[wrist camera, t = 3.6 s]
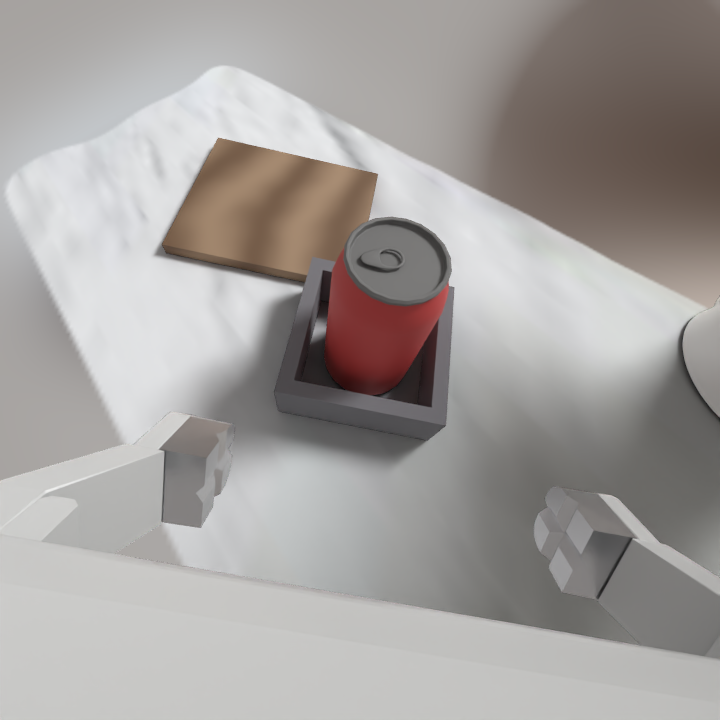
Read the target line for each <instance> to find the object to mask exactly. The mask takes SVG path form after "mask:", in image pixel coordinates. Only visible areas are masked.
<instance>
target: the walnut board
mask: <svg viewBox="0 0 720 720" xmlns="http://www.w3.org/2000/svg"><path fill="white" fill-rule="evenodd" d="M377 176H378V174H376V173H372V172H367V171H363V170H358V169H354V168H350V167H345V166H341V165H336V164H332V163H327V162H323V161H319V160H314V159H310V158H305V157H301V156H297V155H292V154H288V153H283V152H279V151H275V150H270V149H266V148H261V147H257V146H253V145H248V144H244V143H239V142H235V141H230V140H226V139H222V138H218V139H217V141H216V143H215V145H214V147H213V149H212V151H211V152H210V154H209V156H208V158H207V160H206V162H205V164H204V166H203V168H202V169H201V171H200V173H199V175H198V177H197V179H196V181H195V183H194V185H193V186H192V188H191V190H190V192H189V194H188V196H187V198H186V200H185V202H184V204H183V205H182V207H181V209H180V211H179V213H178V215H177V217H176V219H175V221H174V222H173V224H172V226H171V228H170V230H169V232H168V234H167V236H166V238H165V240H164V241H163V243H162V246H163V248H164V250H165V252H166V253H169V254H174V255H179V256H183V257H188V258H193V259H198V260H202V261H207V262H212V263H217V264H221V265H226V266H231V267H235V268H240V269H245V270H250V271H254V272H259V273H264V274H268V275H273V276H278V277H283V278H287V279H292V280H297V281H301V282H305V281H306V278H307V274H308V271H309V267H310V264H311V260H312V257H316V258H320V259H325V260H330V261H334V262H336V261H337V259H338V257H339V255H340V253H341V251H342V249H343V248H344V246H345V243H346V241H347V239H348V237H349V235H350V234H351V232H352V231H354V230H355V229H356V228H357V227H358V226H360V225H361V224H362V223H365V222H367V221H368V220H369V215H370V210H371V205H372V201H373V196H374V191H375V186H376V181H377Z"/></svg>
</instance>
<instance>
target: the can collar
mask: <svg viewBox="0 0 720 720" xmlns="http://www.w3.org/2000/svg"><path fill="white" fill-rule="evenodd" d="M334 265H335V262H334V261H330V260H325V259H320V258H316V257H312V260H311V264H310V267H309V271H308V274H307V278H306V281H305V285H304V288H303V292H302V295H301V299H300V302H299V306H298V309H297V313H296V316H295V320H294V323H293V327H292V331H291V334H290V338H289V341H288V345H287V348H286V352H285V355H284V359H283V362H282V366H281V369H280V373H279V376H278V380H277V383H276V387H275V390H274V393H275V398H276V402H277V407H278V411H280V412H285V413H290V414H295V415H300V416H305V417H311V418H316V419H321V420H326V421H331V422H336V423H341V424H346V425H351V426H357V427H362V428H367V429H372V430H377V431H382V432H387V433H392V434H397V435H402V436H408V437H413V438H418V439H423V440H429V439H430V438H431V437H432V436H434V435H435V434H436V433H437V432H439V431H440V430H441V429H442V428H444V427H445V426H446V415H447V399H448V382H449V366H450V350H451V333H452V317H453V300H454V287H450V286H449V291H448V296H447V300H446V303H445V306H444V309H443V312H442V314H441V316H440V317H439V319H438V321H437V322H436V324H435V326H434V327H433V329H432V331H431V332H430V334H429V336H428V337H427V339H426V341H425V342H424V344H423V354H422V365H421V375H420V385H419V395H418V405H416V404H411V403H406V402H401V401H396V400H391V399H386V398H381V397H376V396H371V395H366V394H361V393H356V392H351V391H346V390H341V389H336V388H331V387H326V386H321V385H316V384H311V383H306V382H301V377H302V373H303V370H304V366H305V362H306V358H307V354H308V350H309V346H310V342H311V338H312V334H313V330H314V326H315V322H316V318H317V314H318V310H319V306H320V303H321V301H325V302H329V298H330V287H331V277H332V269H333V267H334Z"/></svg>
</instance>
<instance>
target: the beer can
mask: <svg viewBox="0 0 720 720" xmlns="http://www.w3.org/2000/svg"><path fill="white" fill-rule="evenodd" d="M451 272H452V269H451V258H450V255H449V253H448V251H447V249H446V247H445V245H444V244H443V242H442V241H441V240H440V239H439V238H438V237H437V236H436V234H435V233H433V232H432V231H430V230H429V229H427V228H426V227H424V226H423V225H421V224H419V223H416V222H413V221H411V220H408V219H404V218H396V217H384V218H375V219H372V220H370V221H367V222H365V223H362V224H361V225H360V226H358V227H357V228H356V229H355V230H354V231H352V232H351V234H350V235H349V237H348V239H347V241H346V243H345V246H344V248H343V249H342V251H341V253H340V255H339V257H338V259H337V261H336V262H335V265H334V267H333V269H332V277H331V287H330V298H329V308H328V319H327V329H326V340H325V350H324V360H325V364H326V368H327V370H328V372H329V373H330V375H331V376H332V378H333V379H334V381H335V382H337V383H338V384H339V385H340V386H342V387H343V388H344V389H346V390H348V391H351V392H356V393H361V394H366V395H371V396H372V395H377V394H382V393H385V392H387V391H389V390H390V389H392V388H394V387H395V386H397V384H398V383H399V382H400V381H401V380H402V378H403V377H404V376H405V374H406V372H407V371H408V369H409V367H410V366H411V364H412V362H413V361H414V359H415V357H416V356H417V354H418V352H419V351H420V349H421V347H422V346H423V344H424V342H425V341H426V339H427V337H428V336H429V334H430V332H431V331H432V329H433V327H434V326H435V324H436V322H437V321H438V319H439V317H440V316H441V314H442V312H443V309H444V306H445V303H446V300H447V296H448V291H449V284H448V281H449V278H450V275H451Z"/></svg>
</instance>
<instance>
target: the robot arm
mask: <svg viewBox="0 0 720 720" xmlns="http://www.w3.org/2000/svg"><path fill="white" fill-rule="evenodd" d="M683 354H684V359H685V363H686V366H687V369H688V372H689V374H690V377H691V379H692V381H693V383H694V384H695V386H696V388H697V390H698V391H699V393H700V394H701V396H702V397H703V399H704V400H705V401H706V403H707V404H708V405H709V406H710V408H711V409H712V410H713V411H714V412H715V413H716V414H717V415H718V416H719V418H720V296H719V297H718V299H717V301H716V303H715V305H714V306H713V307H712V308H710V309H708V310H706V311H703V312H701V313H699V314H697V315H696V316H695V317H694V318H692V319H691V321H690V322H689V323H688V325H687V327H686V329H685V332H684V336H683ZM234 434H235V427H234V424H231V423H226V422H222V421H217V420H212V419H208V418H203V417H198V416H193V415H190V414H184V413H178V412H169V413H168V414H167V415H166V416H165V417H164V418H162V419H161V420H160V421H159V422H158V423H157V424H156V425H155V426H153V427H152V428H151V429H150V430H149V431H148V432H147V433H146V434H144V435H143V436H142V437H141V438H140V439H139V440H138V441H137V442H135V443H134V444H133V445H131V444H123V445H120V446H116V447H113V448H110V449H106V450H103V451H99V452H96V453H92V454H89V455H86V456H82V457H79V458H76V459H72V460H68V461H65V462H62V463H58V464H55V465H51V466H48V467H45V468H42V469H38V470H34V471H31V472H27V473H24V474H21V475H17V476H14V477H10V478H7V479H4V480H0V720H720V577H718V576H717V575H715V574H713V573H712V572H710V571H708V570H707V569H705V568H704V567H702V566H700V565H699V564H697V563H696V562H694V561H692V560H691V559H689V558H687V557H686V556H684V555H683V554H681V553H679V552H678V551H676V550H675V549H673V548H671V547H670V546H668V545H665V544H661V543H660V542H659V541H658V540H657V539H656V538H655V537H654V536H653V535H652V534H651V533H650V532H649V531H648V530H647V529H646V528H645V526H644V525H643V524H642V523H641V522H640V521H639V520H638V519H637V518H636V517H635V516H634V515H633V514H632V513H631V512H630V511H629V510H628V509H627V507H626V506H625V505H624V504H623V503H622V502H621V501H620V500H619V499H618V498H616V497H614V496H612V495H607V494H600V493H594V492H587V491H581V490H575V489H569V488H563V487H556V486H553V487H552V488H551V489H550V490H549V491H548V493H547V495H546V497H545V502H546V505H547V508H545V509H544V510H542V511H541V512H539V513H538V515H537V518H536V520H535V523H534V538H535V542H536V545H537V547H538V549H539V551H540V552H541V553H542V554H543V555H544V556H545V557H546V558H547V559H549V560H550V564H549V570H550V571H551V573H552V575H553V577H554V579H555V581H556V583H557V584H558V586H559V588H560V590H561V592H562V593H567V594H572V595H576V596H581V597H586V598H591V599H596V600H598V601H597V602H598V603H599V604H600V605H601V606H602V607H603V608H604V609H605V610H606V611H607V612H608V613H609V614H610V615H611V616H612V617H613V618H614V619H615V620H616V621H617V622H618V623H619V624H620V625H621V626H622V627H623V628H624V629H625V630H626V631H627V632H628V633H629V634H630V635H631V636H632V637H633V638H634V639H635V640H636V641H637V642H638V643H639V644H640V645H635V644H630V643H624V642H618V641H612V640H607V639H601V638H595V637H590V636H584V635H578V634H572V633H567V632H561V631H555V630H549V629H544V628H538V627H532V626H526V625H521V624H515V623H509V622H504V621H498V620H492V619H486V618H480V617H474V616H469V615H463V614H457V613H451V612H445V611H440V610H434V609H428V608H422V607H417V606H411V605H405V604H399V603H394V602H388V601H382V600H377V599H371V598H365V597H359V596H354V595H348V594H342V593H336V592H331V591H325V590H319V589H313V588H308V587H302V586H296V585H290V584H285V583H279V582H273V581H268V580H262V579H256V578H250V577H245V576H239V575H233V574H227V573H222V572H216V571H210V570H204V569H199V568H193V567H187V566H181V565H176V564H169V563H164V562H158V561H153V560H147V559H141V558H136V557H129V556H124V555H118V554H115V553H116V552H118V551H119V550H121V549H123V548H124V547H126V546H127V545H129V544H131V543H132V542H134V541H135V540H137V539H139V538H140V537H142V536H143V535H145V534H146V533H148V532H150V531H151V530H153V529H154V528H156V527H158V526H159V525H161V522H165V523H171V524H178V525H185V526H192V527H198V528H201V527H202V525H203V523H204V522H205V520H206V518H207V516H208V515H209V513H210V511H211V509H212V508H213V502H214V497H215V496H217V495H219V494H221V492H222V490H223V488H224V486H225V484H226V481H227V478H228V476H229V472H230V468H231V462H232V454H231V453H230V451H229V447H230V446H231V444H232V442H233V441H234Z"/></svg>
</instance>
